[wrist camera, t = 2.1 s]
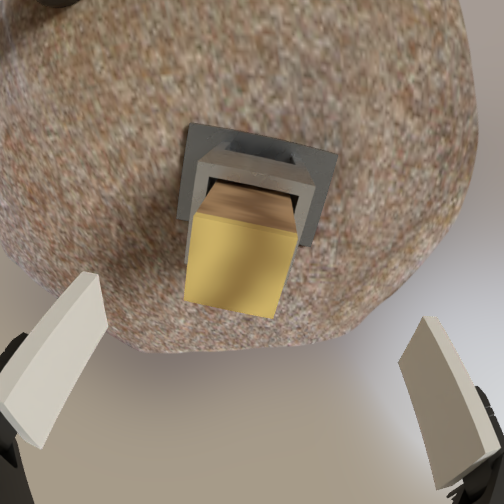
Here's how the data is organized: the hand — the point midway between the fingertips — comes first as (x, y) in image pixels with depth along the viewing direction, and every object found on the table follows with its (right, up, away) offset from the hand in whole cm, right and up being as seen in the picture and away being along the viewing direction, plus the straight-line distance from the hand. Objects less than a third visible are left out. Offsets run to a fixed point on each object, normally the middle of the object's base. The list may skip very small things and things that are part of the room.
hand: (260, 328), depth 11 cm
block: (-1, +8, +23) cm, 24 cm away
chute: (0, +12, +31) cm, 33 cm away
